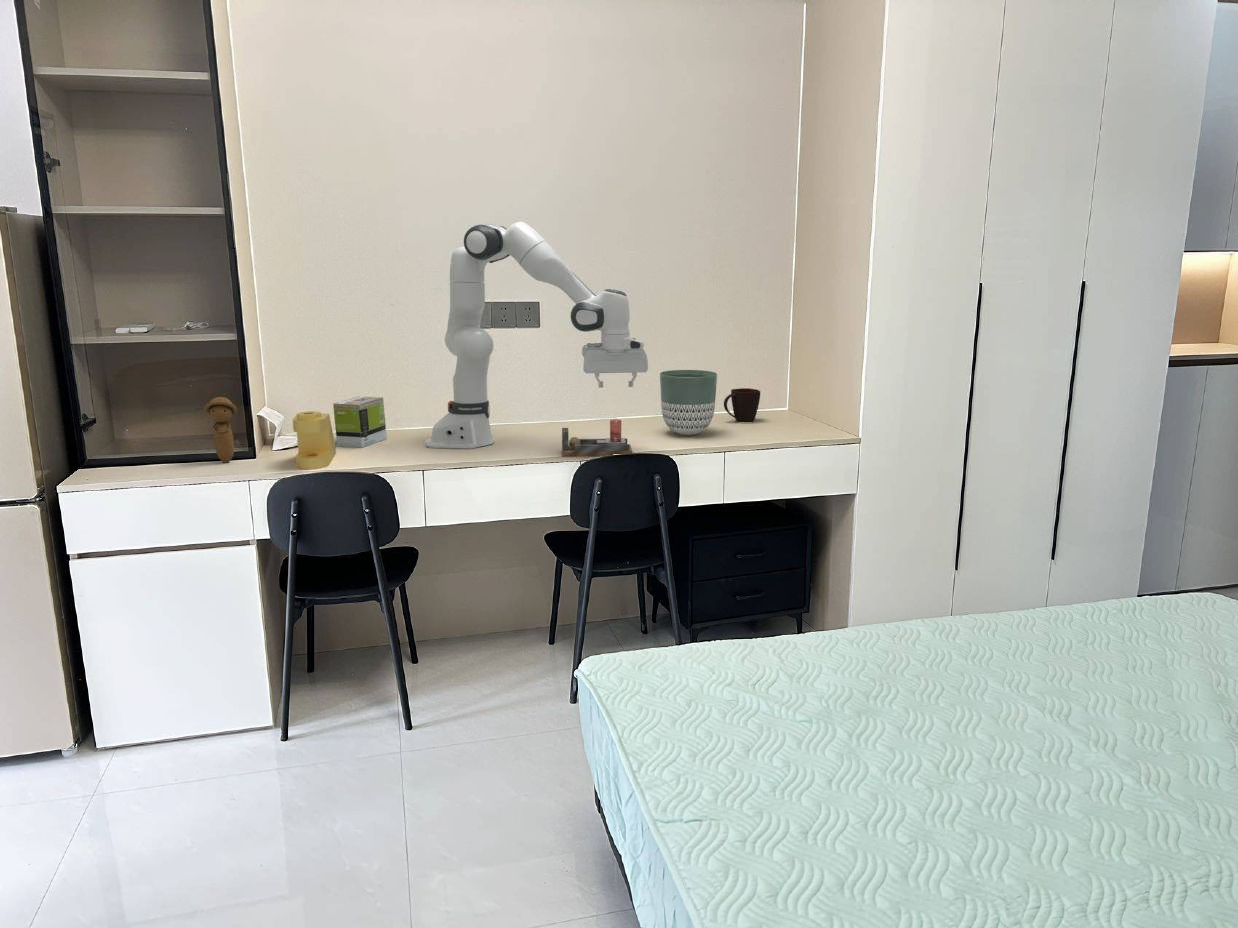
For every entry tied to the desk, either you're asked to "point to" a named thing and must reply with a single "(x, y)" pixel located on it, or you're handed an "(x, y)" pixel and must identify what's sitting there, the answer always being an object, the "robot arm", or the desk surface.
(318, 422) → the clamp
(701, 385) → the planter
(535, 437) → the desk surface
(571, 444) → the walnut ball
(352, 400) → the tea box
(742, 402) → the cup
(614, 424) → the ram
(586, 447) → the press bed
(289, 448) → the desk surface
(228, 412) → the figurine
